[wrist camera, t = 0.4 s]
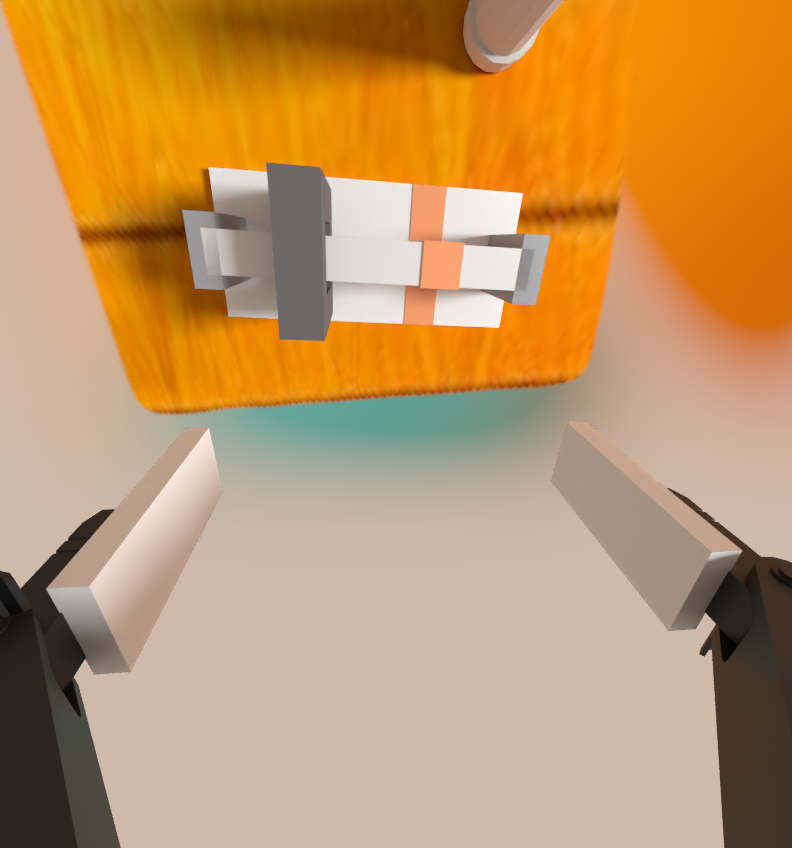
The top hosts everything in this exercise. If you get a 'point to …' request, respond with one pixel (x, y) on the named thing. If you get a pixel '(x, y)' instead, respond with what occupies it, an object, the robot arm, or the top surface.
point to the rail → (371, 224)
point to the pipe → (503, 30)
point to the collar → (301, 249)
